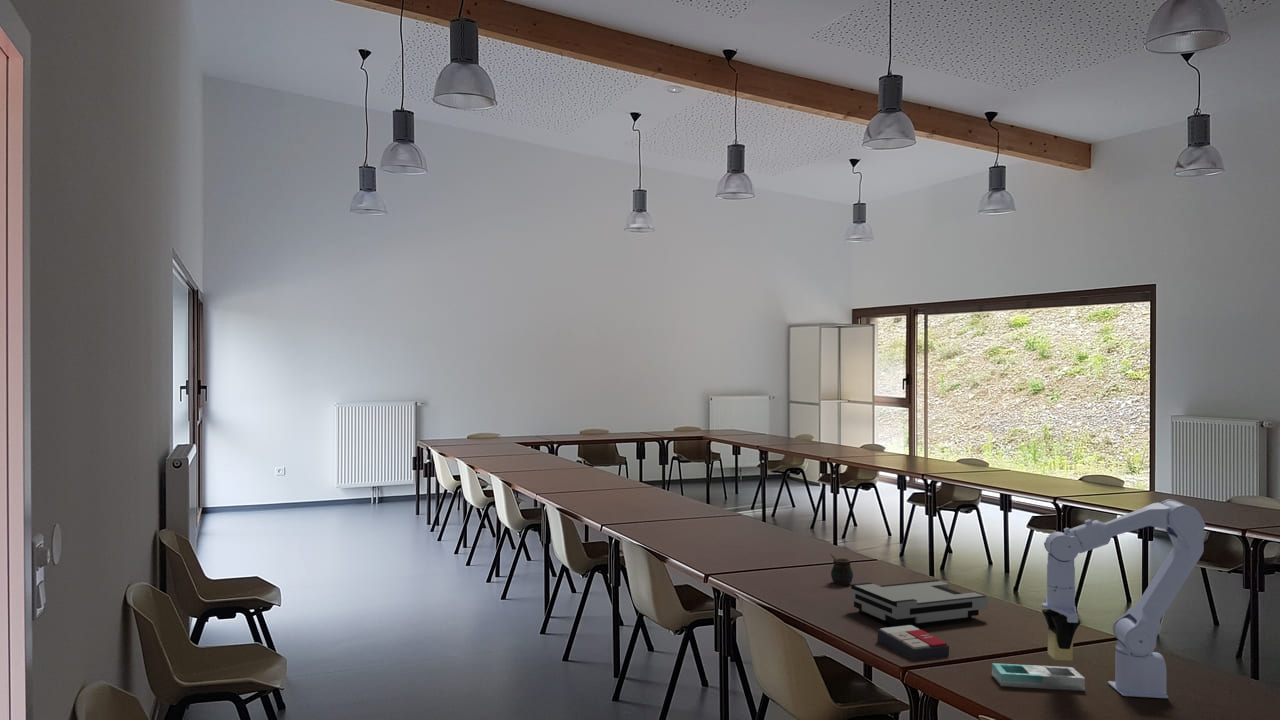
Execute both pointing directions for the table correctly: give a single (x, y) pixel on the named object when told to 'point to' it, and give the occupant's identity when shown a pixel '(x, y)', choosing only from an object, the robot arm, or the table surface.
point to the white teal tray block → (1038, 676)
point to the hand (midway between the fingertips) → (1060, 645)
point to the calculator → (912, 642)
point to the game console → (917, 603)
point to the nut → (1054, 647)
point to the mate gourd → (841, 571)
